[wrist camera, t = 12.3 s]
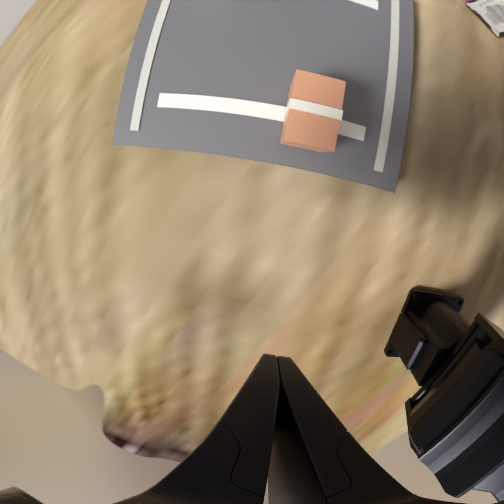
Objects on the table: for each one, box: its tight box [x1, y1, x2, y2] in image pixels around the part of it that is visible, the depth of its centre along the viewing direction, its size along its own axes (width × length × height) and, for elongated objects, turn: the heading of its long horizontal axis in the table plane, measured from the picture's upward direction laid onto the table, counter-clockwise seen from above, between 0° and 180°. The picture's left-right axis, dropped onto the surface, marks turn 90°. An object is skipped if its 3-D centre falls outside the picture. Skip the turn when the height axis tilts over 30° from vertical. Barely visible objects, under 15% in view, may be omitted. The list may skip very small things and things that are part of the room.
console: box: [113, 0, 414, 193], centre depth 14 cm, size 18×16×2 cm
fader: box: [280, 69, 346, 153], centre depth 13 cm, size 2×4×3 cm
